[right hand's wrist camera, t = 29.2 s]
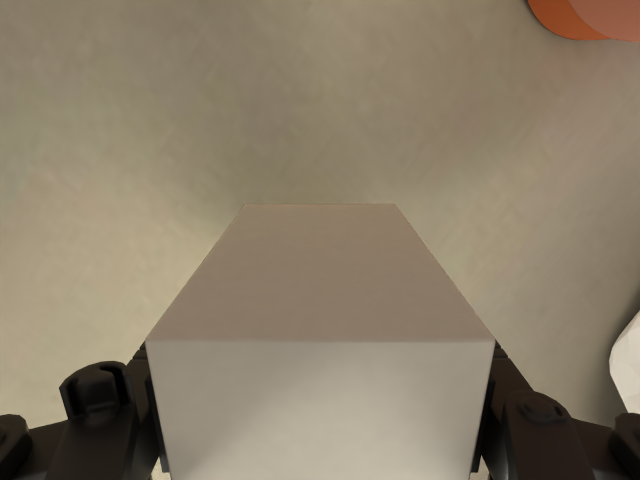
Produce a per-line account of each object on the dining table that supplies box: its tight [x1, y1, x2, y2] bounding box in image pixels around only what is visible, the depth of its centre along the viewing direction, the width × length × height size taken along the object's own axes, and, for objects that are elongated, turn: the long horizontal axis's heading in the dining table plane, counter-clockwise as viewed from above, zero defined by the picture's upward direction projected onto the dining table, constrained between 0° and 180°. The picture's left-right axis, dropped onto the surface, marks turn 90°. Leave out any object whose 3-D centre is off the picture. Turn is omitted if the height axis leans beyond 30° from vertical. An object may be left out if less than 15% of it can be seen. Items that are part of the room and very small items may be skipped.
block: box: [145, 204, 495, 480], centre depth 12 cm, size 6×6×9 cm
